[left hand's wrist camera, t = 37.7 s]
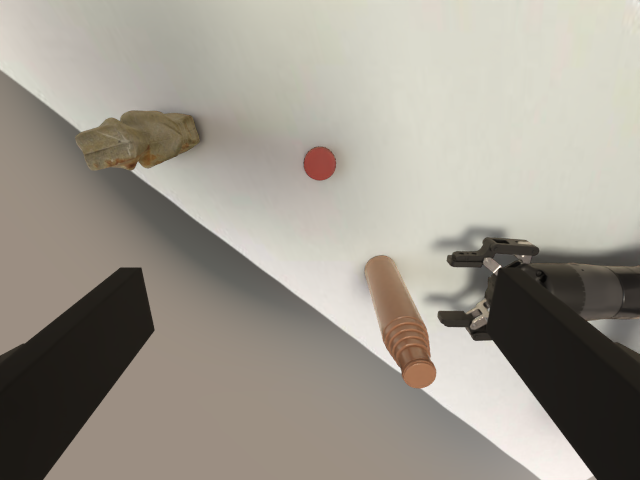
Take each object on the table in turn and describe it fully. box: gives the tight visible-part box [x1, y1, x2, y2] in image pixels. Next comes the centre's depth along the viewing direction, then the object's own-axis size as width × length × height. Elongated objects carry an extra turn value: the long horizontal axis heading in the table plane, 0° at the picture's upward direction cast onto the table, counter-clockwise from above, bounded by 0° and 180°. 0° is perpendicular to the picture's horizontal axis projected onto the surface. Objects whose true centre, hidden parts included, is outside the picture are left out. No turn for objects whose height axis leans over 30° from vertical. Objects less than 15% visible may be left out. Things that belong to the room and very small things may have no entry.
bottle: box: [365, 256, 436, 388], centre depth 41 cm, size 5×5×22 cm
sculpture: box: [75, 111, 200, 170], centre depth 37 cm, size 6×7×15 cm
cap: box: [304, 146, 336, 180], centre depth 45 cm, size 4×4×2 cm
